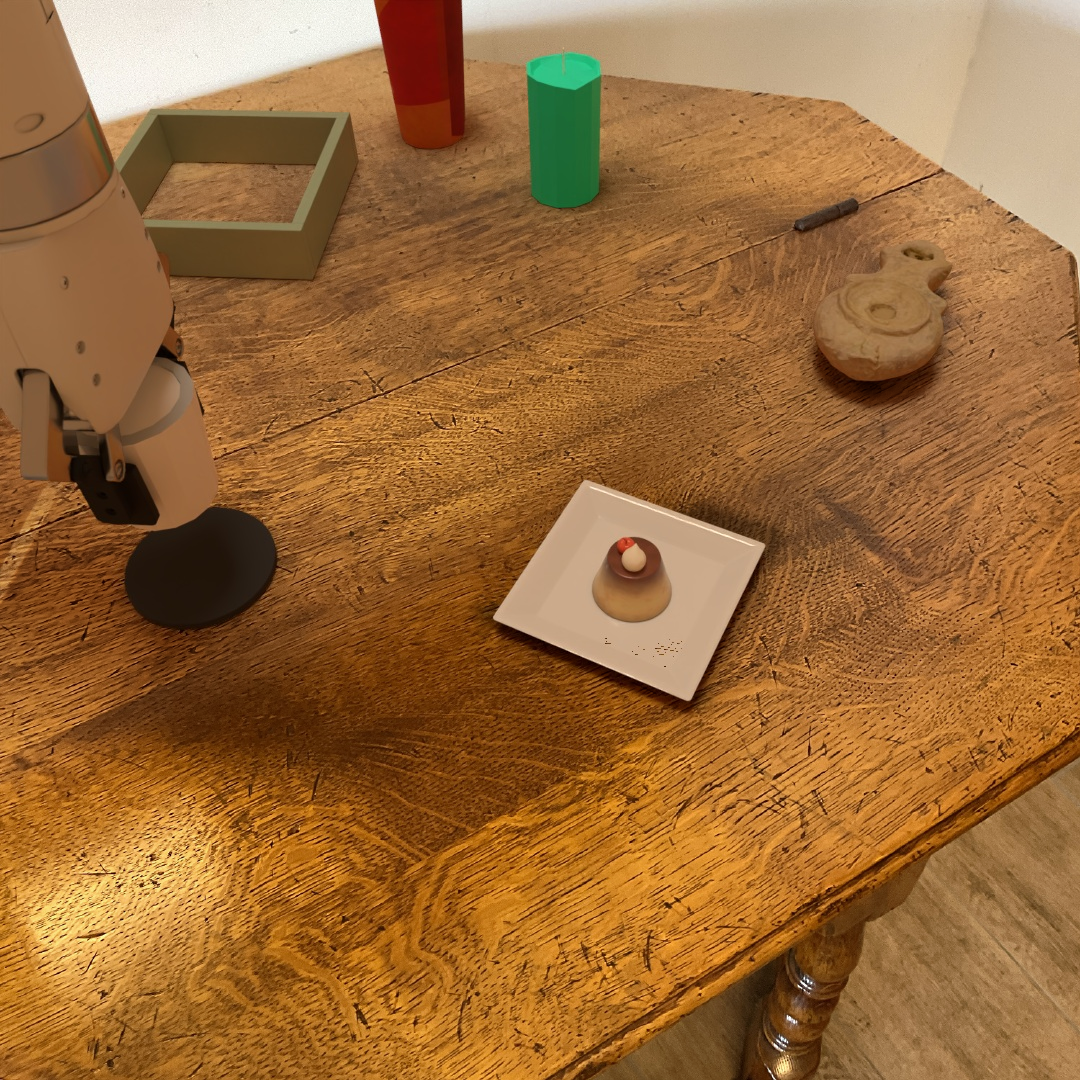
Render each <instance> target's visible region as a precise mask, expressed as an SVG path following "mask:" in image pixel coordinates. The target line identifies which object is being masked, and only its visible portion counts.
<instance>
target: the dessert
mask: <svg viewBox="0 0 1080 1080" xmlns="http://www.w3.org/2000/svg"><path fill="white" fill-rule="evenodd" d="M765 548H766V544H765V543H764V542H761V541H758V540H755V539H753V538H750V537H748V536H744V535H742V534H738V533H737V532H734V531H730V530H727V529H725V528H722V527H719V526H717V525H714V524H711V523H709V522H705V521H703V520H699V519H697V518H694V517H692V516H689V515H687V514H683V513H680V512H677V511H674V510H672V509H670V508H666V507H664V506H660V505H658V504H655V503H653V502H650V501H647V500H644V499H641V498H639V497H636V496H633V495H631V494H627V493H626V492H625V493H624V492H621V491H619V490H616V489H614V488H611V487H608V486H606V485H602V484H600V483H597V482H594V481H591V480H589V479H584V480H583V481H582V482H581V484H580V486H579V487H578V488H577V490H576V491H575V493H574V495H572V498H571V499H570V500H569V502H568V504H567V505H566V506H565V508H564V509H563V511H562V512H561V514H560V515H559V516H558V518H557V520H556V521H555V523H554V524H553V526H552V527H551V529H550V530H549V532H548V534H547V535H546V536H545V538H544V539H543V541H542V542H541V544H540V545H539V546H538V548H537V550H536V552H534V554H533V556H532V557H531V559H530V560H529V562H528V564H527V565H526V566H525V568H524V569H523V571H522V572H521V574H520V576H519V577H518V578H517V580H516V582H515V583H514V585H513V586H512V587H511V588H510V590H509V592H508V594H507V595H506V597H505V598H504V600H503V601H502V603H500V606H499V607H498V609H497V610H496V612H495V613H494V615H493V616H492V619H493V620H494V621H496V622H498V623H501V624H503V625H505V626H508V627H510V628H513V629H515V630H517V631H520V632H522V633H525V634H527V635H529V636H532V637H534V638H536V639H539V640H541V641H544V642H545V643H548V644H550V645H553V646H556V647H558V648H559V649H563V650H565V651H568V652H570V653H572V654H574V655H576V656H580V657H582V658H584V659H586V660H588V661H591V662H594V663H596V664H597V665H601V666H603V667H605V668H608V669H610V670H613V671H615V672H617V673H619V674H622V675H624V676H626V677H629V678H631V679H634V680H636V681H639V682H641V683H643V684H646V685H648V686H651V687H653V688H655V689H657V690H659V691H660V690H661V691H662V692H664V693H667V694H669V695H672V696H674V697H676V698H679V699H682V700H684V701H686V702H690V701H691V700H692V699H693V696H694V694H695V692H696V690H697V688H698V687H699V684H700V682H701V680H702V678H703V676H704V674H705V671H706V670H707V668H708V665H709V664H710V662H711V659H712V658H713V655H714V653H715V651H716V649H717V648H718V645H719V643H720V641H721V639H722V636H723V635H724V632H725V631H726V628H727V626H728V624H729V623H730V620H731V618H732V616H733V614H734V612H735V609H736V608H737V606H738V604H739V602H740V599H741V597H742V595H743V593H744V591H745V589H746V587H747V585H748V583H749V581H750V579H751V577H752V576H753V572H754V570H755V569H756V566H757V564H758V563H759V561H760V559H761V557H762V554H763V552H764V550H765ZM605 638H607V639H605ZM669 639H670V640H669ZM606 641H607V642H606ZM681 641H682V642H681ZM672 642H674V643H672ZM605 643H611V644H605ZM658 643H659V644H658ZM677 643H680V644H677ZM671 644H672V645H671ZM638 646H639V647H638ZM661 646H664V647H661ZM668 647H670V648H668ZM655 648H661V649H655ZM675 648H676V649H675ZM681 648H682V649H681ZM643 649H645V650H643ZM664 649H668V650H664ZM670 650H674V651H670ZM632 651H633V652H632ZM657 651H659V652H657ZM676 651H678V652H676ZM665 652H666V653H665ZM635 654H638V655H635ZM659 654H664V655H659ZM653 656H654V657H653ZM673 656H674V657H673ZM664 666H666V667H664Z"/></svg>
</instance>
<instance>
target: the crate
mask: <svg viewBox="0 0 1080 1080" xmlns="http://www.w3.org/2000/svg"><path fill="white" fill-rule="evenodd" d="M134 131H135V132H134V133H133V134H132V136H131V137H130V138H129V140H128V142H127V143H126V145H125V146H124V148H123V149H122V151H121V152H120V153H119V155H118V156H117V158H116V159H115V160H114V162H115V164H116V167H117V170H118V172H119V174H120V175H121V177H122V179H123V181H124V183H125V185H126V186H127V188H128V190H129V192H130V194H131V196H132V198H133V200H134V202H135V204H136V207H137V209H138V211H139V213H140V215H141V216H143V215H142V214H144V212H145V209H146V208H147V206H148V205H149V203H150V201H151V200H152V199H153V196H154V194H155V193H156V191H157V190H158V188H159V186H160V185H161V183H162V181H163V180H164V179H165V176H166V175H167V173H168V172H169V170H170V168H171V166H172V165H173V164H174V162H176V163H216V162H221V164H263V163H264V164H263V165H265V164H267V165H268V164H271V165H274V164H275V165H308V166H309V165H311V166H312V165H313V166H314V165H315V166H314V169H313V172H312V175H311V176H310V179H309V182H308V184H307V186H306V187H305V190H304V193H303V195H302V197H301V200H300V202H299V204H298V206H297V209H296V212H295V214H294V215H293V219H292V221H291V222H266V221H265V222H264V221H263V222H261V221H260V222H259V221H230V220H229V221H226V220H225V221H223V220H222V221H221V220H189V219H188V220H186V219H185V220H184V219H153V218H152V219H151V218H150V219H149V218H147V219H146V218H142V219H143V221H144V224H145V226H146V228H147V230H148V233H149V235H150V237H151V240H152V242H153V244H154V247H155V249H156V251H157V252H161V253H165V254H166V255H167V256H168V259H169V266H170V276H173V277H174V276H176V277H177V276H178V277H207V278H209V277H210V278H214V277H215V278H236V279H237V278H241V279H243V278H244V279H274V280H304V281H307V280H309V281H313V280H314V277H315V274H316V272H317V269H318V267H319V265H320V262H321V260H322V257H323V254H324V251H325V249H326V246H327V244H328V241H329V238H330V235H331V233H332V230H333V228H334V225H335V223H336V220H337V218H338V215H339V212H340V209H341V207H342V204H343V202H344V199H345V196H346V193H347V192H348V188H349V185H350V183H351V181H352V178H353V176H354V173H355V170H356V167H357V165H358V162H359V155H358V149H357V143H356V138H355V133H354V127H353V123H352V116H351V112H350V111H311V110H309V111H308V110H307V111H304V110H302V111H301V110H299V111H298V110H292V111H291V110H253V109H252V110H251V109H247V110H246V109H243V110H242V109H192V108H190V109H189V108H187V109H186V108H150V109H149V110H148V112H147V114H146V115H145V116H144V118H143V119H142V121H141V123H140V124H139V125H138V127H137V128H136V130H134ZM222 162H224V163H222ZM225 162H227V163H225Z"/></svg>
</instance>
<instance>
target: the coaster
mask: <svg viewBox="0 0 1080 1080" xmlns="http://www.w3.org/2000/svg"><path fill="white" fill-rule="evenodd" d="M277 565H278V549H277V546H276V543H275V540H274V537H273V535H272V533H271V531H270V530H269V529H268V527H267V525H265V524H264V523H263V522H262V521H261V520H260V519H259V518H256V516H255V515H252V514H250V513H248V512H245V511H242V510H241V509H235V508H229V507H217V506H216V507H215V506H214V507H208V508H207V509H206V510H205V511H204V512H203V513H201V514H200V515H199V516H198V517H197V518H196V519H194V520H192V521H189V522H187V523H185V524H183V525H180V526H178V527H176V528H171V529H164V530H158V531H152V530H150V532H149V533H147V534H146V535H145V536H144V537H143V538H142V539H141V540H140V542H139V543H137V545H136V546H135V548H134V549H133V551H132V552H131V555H130V556H129V557H128V560H127V563H126V565H125V570H124V576H123V577H124V578H123V579H124V581H123V584H124V589H125V593H126V596H127V598H128V600H129V602H130V603H131V605H132V607H133V608H134V609H135V611H136V612H137V613H138V614H139V615H140V616H141V617H142V618H144V619H145V620H146V621H149V622H150V623H152V624H154V625H157V626H159V627H164V628H167V629H172V630H180V631H181V630H183V631H184V630H185V631H187V630H191V631H192V630H199V629H205V628H209V627H212V626H216V625H219V624H222V623H224V622H226V621H227V622H228V621H229V620H231V619H233V618H235V617H237V616H239V615H241V614H242V613H243V612H245V611H247V609H249V608H250V607H251V606H252V605H254V604H255V603H256V602H257V601H258V600H259V599H260V598H261V597H262V596H263V595H264V593H265V592H266V590H267V589H268V588H269V586H270V585H271V582H272V580H273V578H274V575H275V573H276V570H277Z"/></svg>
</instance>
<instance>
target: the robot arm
mask: <svg viewBox="0 0 1080 1080" xmlns="http://www.w3.org/2000/svg"><path fill="white" fill-rule="evenodd" d="M61 20H62V19H61V17H60V16H59V13H58V11H57V7H56V5H55V2H54V0H0V408H1V410H2V411H3V413H4V415H5V416H6V418H7V419H8V421H9V422H10V424H11V425H12V426H13V427H14V428H15V429H16V430H17V431H18V432H19V431H20V448H19V449H20V451H19V473H20V476H21V478H22V479H23V480H25V481H34V482H35V481H36V482H49V483H51V482H52V483H68V484H69V483H70V484H72V483H73V484H76V486H77V488H78V489H79V491H80V493H81V494H82V497H83V498H84V500H85V501H86V503H87V505H88V507H89V509H90V511H91V512H92V514H93V515H94V518H95V519H96V520H97V521H98V522H100V523H102V524H109V525H114V526H115V525H116V526H126V525H130V526H132V525H148V526H153V525H156V523H157V521H158V519H159V517H160V514H159V511H158V509H157V507H156V505H155V502H154V500H153V498H152V496H151V494H150V492H149V490H148V488H147V486H146V484H145V482H144V480H143V478H142V476H141V474H140V472H139V470H138V468H137V466H136V465H134V464H131V463H125V458H124V452H123V446H122V440H121V434H120V427H119V421H120V420H121V419H122V418H123V416H124V415H125V413H126V411H127V410H128V408H129V406H130V404H131V402H132V400H133V398H134V397H135V395H136V393H137V391H138V389H139V387H140V385H141V383H142V381H143V379H144V377H145V375H146V373H147V371H148V369H149V367H150V365H151V363H152V361H153V359H154V357H161V358H167V359H169V360H171V361H173V362H175V363H177V364H179V365H181V366H182V367H184V368H185V369H186V371H187V373H188V374H189V376H190V377H191V379H192V380H193V378H192V376H191V373H190V371H189V368H188V366H187V362H186V361H185V360H179V359H182V358H183V356H184V353H185V343H184V340H183V338H182V336H181V335H180V334H179V333H178V332H177V331H176V330H175V312H176V309H177V306H176V305H175V303H176V302H175V300H174V298H173V296H172V295H173V294H172V292H171V275H170V266H169V259H168V256H167V255H166V254H165V253H161V252H157V251H156V249H155V247H154V244H153V242H152V240H151V237H150V235H149V233H148V230H147V228H146V226H145V224H144V221H143V219H144V218H143V217H142V215H140V213H139V211H138V209H137V207H136V204H135V202H134V200H133V198H132V196H131V194H130V192H129V190H128V188H127V186H126V185H125V183H124V181H123V179H122V177H121V175H120V174H119V172H118V170H117V167H116V164H115V160H114V156H113V153H112V151H111V148H110V145H109V143H108V140H107V138H106V135H105V133H104V130H103V127H102V125H101V123H100V120H99V118H98V114H97V111H96V109H95V106H94V104H93V102H92V99H91V96H90V94H89V92H88V89H87V86H86V82H85V81H84V77H83V76H82V73H81V70H80V68H79V64H78V62H77V59H76V57H75V55H74V52H73V50H72V47H71V44H70V42H69V38H68V37H67V34H66V31H65V28H64V26H63V23H62V21H61ZM195 390H196V394H197V397H198V401H199V405H200V409H201V413H202V417H203V418H204V415H205V409H204V407H203V404H202V401H201V399H200V396H199V394H198V391H197V389H196V387H195ZM69 409H70V410H71V411H72V412H69ZM76 431H87V432H96V433H97V439H98V445H99V451H100V455H80V452H79V446H78V441H77V435H76Z"/></svg>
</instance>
